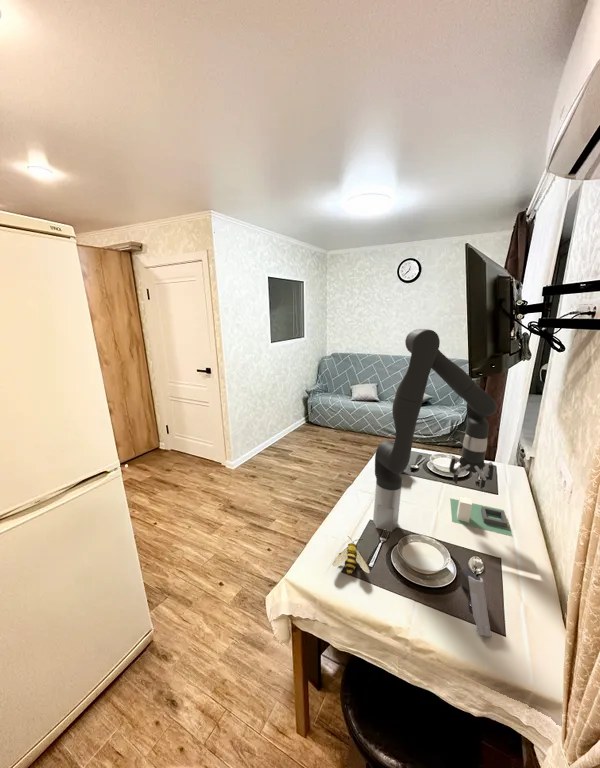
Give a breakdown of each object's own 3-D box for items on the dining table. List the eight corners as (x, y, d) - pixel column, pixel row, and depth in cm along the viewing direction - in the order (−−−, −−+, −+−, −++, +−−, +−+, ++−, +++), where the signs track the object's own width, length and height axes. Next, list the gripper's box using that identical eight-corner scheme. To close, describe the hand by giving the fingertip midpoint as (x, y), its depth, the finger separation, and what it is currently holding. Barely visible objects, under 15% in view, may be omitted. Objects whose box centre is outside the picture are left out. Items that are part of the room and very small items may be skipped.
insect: (370, 549, 109) (371, 537, 108) (368, 584, 95) (369, 571, 94) (338, 542, 112) (338, 530, 111) (331, 576, 98) (332, 563, 97)
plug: (469, 522, 120) (472, 504, 118) (457, 519, 122) (460, 502, 120) (467, 514, 125) (470, 497, 123) (456, 512, 126) (459, 495, 124)
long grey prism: (464, 630, 89) (480, 635, 79) (457, 569, 97) (470, 566, 87) (478, 632, 89) (495, 638, 79) (470, 570, 97) (484, 568, 87)
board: (512, 539, 114) (513, 531, 113) (451, 524, 121) (452, 517, 120) (503, 512, 128) (504, 505, 127) (449, 500, 135) (450, 494, 135)
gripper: (453, 447, 114) (448, 486, 118) (498, 454, 109) (491, 494, 113) (452, 439, 121) (447, 476, 125) (495, 445, 116) (487, 483, 120)
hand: (468, 485), depth 119 cm, fingers open, 8 cm apart
